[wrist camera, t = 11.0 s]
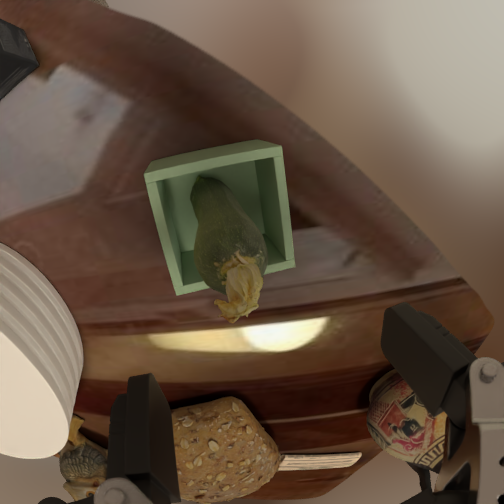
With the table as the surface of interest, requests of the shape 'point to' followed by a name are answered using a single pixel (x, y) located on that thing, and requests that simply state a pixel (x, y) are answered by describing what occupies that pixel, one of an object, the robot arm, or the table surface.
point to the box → (14, 57)
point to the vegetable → (227, 248)
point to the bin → (244, 189)
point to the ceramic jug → (406, 426)
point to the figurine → (82, 463)
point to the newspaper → (317, 461)
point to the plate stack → (35, 361)
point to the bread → (221, 451)
